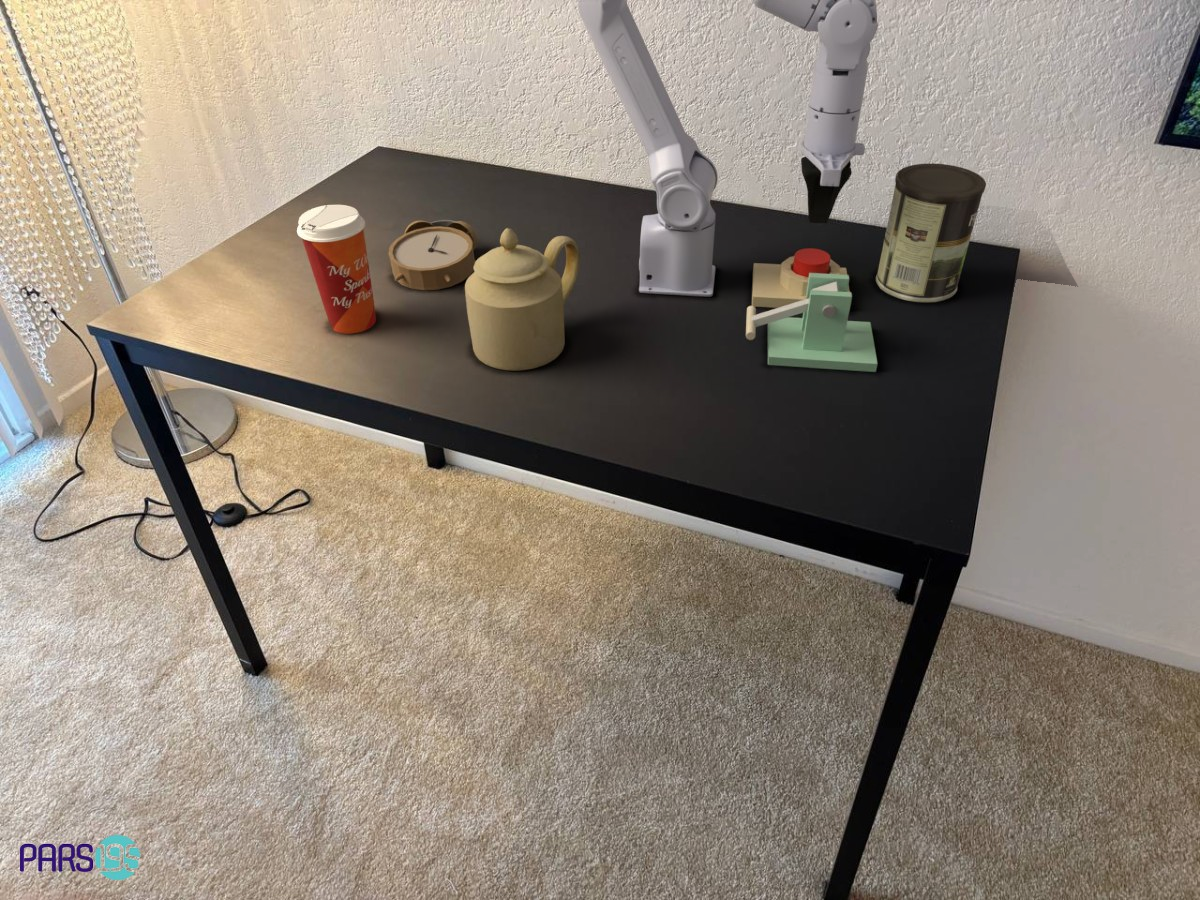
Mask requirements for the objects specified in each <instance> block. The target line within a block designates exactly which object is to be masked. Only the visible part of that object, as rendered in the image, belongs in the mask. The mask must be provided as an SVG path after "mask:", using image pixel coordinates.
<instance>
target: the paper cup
mask: <svg viewBox="0 0 1200 900" xmlns="http://www.w3.org/2000/svg"><path fill="white" fill-rule="evenodd" d="M365 227H366V221H365V219H364V218H363V216H361V215H360V212H359V210H357V209H356V208H355V207H353V206H350V205H346V204H326V205H320V206H316V207H313V208H310V209H308V210H306V211H305V212H303V213H302V214H301V215H300V216H299V218H298V226H297V229H296V233H297V235H298V236H299V238H301V240H302V244H303V247H304V249H305V253H306V256H307V258H308V262H309V265H310V269H311V271H312V274H313V277H314V281H315V284H316V287H317V290H318V294H319V296H320V299H321V303H322V305H323V308H324V311H325V315H326V317H327V320H328V323H329V325H330V327H331V330H333V331H334V332H336V333H339V334H343V335H344V334H346V335H351V334H358V333H362V332H365V331H367V330H369V329H370V328H372V327H373V326H374V325H375V323H376V320H377V318H376V317H377V316H376V306H375V300H374V299H375V298H374V293H373V286H372V285H373V284H372V278H371V271H370V266H369V264H370V263H369V258H368V250H367V244H366V237H365V230H364V228H365Z"/></svg>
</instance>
